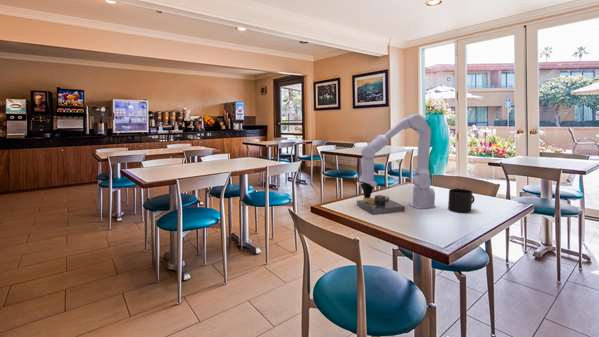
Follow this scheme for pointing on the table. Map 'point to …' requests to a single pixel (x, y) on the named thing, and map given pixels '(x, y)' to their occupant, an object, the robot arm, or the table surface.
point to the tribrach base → (381, 207)
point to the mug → (460, 200)
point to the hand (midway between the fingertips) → (367, 198)
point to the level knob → (376, 199)
